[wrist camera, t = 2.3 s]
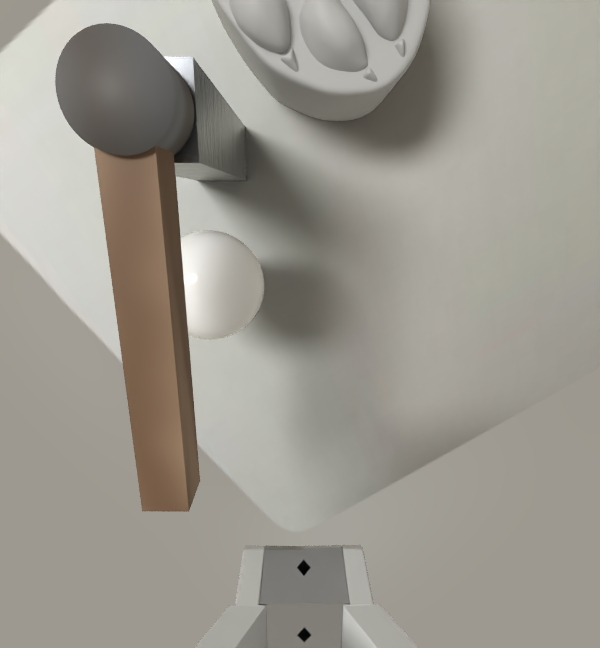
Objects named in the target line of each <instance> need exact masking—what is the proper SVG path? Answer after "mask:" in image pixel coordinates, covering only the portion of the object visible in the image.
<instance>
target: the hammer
mask: <svg viewBox="0 0 600 648" xmlns="http://www.w3.org/2000/svg"><path fill="white" fill-rule="evenodd" d="M55 83H56V93H57V97H58V101H59V105H60V108H61V110H62V112H63V114H64V117H65V118H66V120H67V122H68V123H69V125H70V126H71V127H72V129H73V130H74V131H75V132H76V133H77V134H78V135H79V136H80V137H81V138H82V139H83V140H84V141H85V142H87V143H88V144H90V145H91V146H93V147H94V150H95V158H96V165H97V173H98V180H99V188H100V195H101V203H102V210H103V218H104V225H105V233H106V241H107V248H108V256H109V263H110V271H111V278H112V286H113V293H114V301H115V308H116V316H117V324H118V331H119V339H120V346H121V354H122V361H123V369H124V376H125V384H126V391H127V399H128V406H129V414H130V422H131V429H132V436H133V444H134V452H135V459H136V467H137V474H138V482H139V490H140V497H141V505H142V511H189V510H190V507H191V504H192V501H193V498H194V496H195V493H196V490H197V487H198V485H199V482H200V476H199V463H198V451H197V438H196V426H195V413H194V401H193V388H192V376H191V363H190V351H189V338H188V326H187V313H186V301H185V288H184V276H183V263H182V251H181V238H180V226H179V213H178V201H177V189H176V176H175V164H174V155H175V154H176V153H177V152H179V151H180V150H181V149H182V148H183V146H184V145H185V144H186V142H187V140H188V139H189V137H190V134H191V132H192V128H193V124H194V104H193V100H192V96H191V93H190V90H189V88H188V86H187V84H186V82H185V81H184V79H183V78H182V76H181V75H180V74H179V73H178V71H177V70H176V69H175V68H174V67H173V66H172V65H171V64H170V63H169V62H168V61H167V60H166V59H165V58H164V57H163V56H162V55H161V54H160V52H159V51H158V50H157V49H156V48H155V47H154V46H153V45H152V44H151V43H150V42H149V41H148V40H147V39H146V38H144V37H143V36H142V35H140V34H139V33H137V32H135V31H134V30H132V29H130V28H127V27H124V26H121V25H117V24H108V23H105V24H97V25H92V26H90V27H87V28H85V29H83V30H81V31H80V32H78V33H77V34H76V35H74V36H73V37H72V38H71V39H70V40H69V42H68V43H67V44H66V46H65V47H64V49H63V51H62V53H61V55H60V57H59V60H58V64H57V69H56V81H55Z"/></svg>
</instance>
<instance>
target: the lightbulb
mask: <svg viewBox="0 0 600 648" xmlns="http://www.w3.org/2000/svg"><path fill="white" fill-rule="evenodd" d="M180 238H181V251H182V263H183V276H184V288H185V301H186V313H187V326H188V335H189V336H192V337H195V338H199V339H209V340H211V339H220V338H225V337H228V336H231V335H233V334H235V333H237V332H239V331H240V330H242V329H243V328H244V327H246V326H247V325H248V324H249V323H250V322H251V321H252V320H253V318H254V317H255V316H256V314H257V312H258V311H259V309H260V306H261V304H262V300H263V296H264V276H263V272H262V268H261V266H260V263H259V261H258V259H257V258H256V256H255V255H254V253H253V252H252V251H251V250H250V249H249V248H248V247H247V246H246V245H245V244H244V243H243V242H242V241H240V240H239V239H237V238H235V237H233V236H231V235H229V234H226V233H223V232H219V231H212V230H203V231H196V232H192V233H189V234H187V235H184V236H182V237H180Z"/></svg>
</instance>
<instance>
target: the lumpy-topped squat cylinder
mask: <svg viewBox="0 0 600 648" xmlns="http://www.w3.org/2000/svg"><path fill="white" fill-rule="evenodd" d="M212 2H213V5H214V7H215V9H216V11H217V14H218V16H219V18H220V20H221V23H222V25H223V27H224V29H225V30H226V32H227V34H228V36H229V37H230V39H231V40H232V42H233V44H234V45H235V47H236V49H237V51H238V52H239V54H240V55H241V57H242V58H243V60H244V61H245V63H246V64H247V66H248V67H249V68H250V70H251V71H252V72H253V74H254V75H255V76H256V78H257V79H258V80H259V81H260V83H261V84H262V85H263V86H264V87H265V88H266V90H267V91H268V92H269V93H270V94H271V95H272V96H273V97H274V98H275V99H276V100H278V101H279V102H280V103H282V104H284V105H285V106H287V107H289V108H291V109H293V110H296V111H298V112H300V113H303V114H305V115H308V116H310V117H313V118H317V119H320V120H326V121H347V120H354V119H358V118H361V117H363V116H365V115H367V114H369V113H370V112H372V111H373V110H374V109H375V108H376V107H377V106H378V105H379V104H380V103H381V102H382V101H383V99H384V98H385V97H386V96H387V95H388V93H389V92H390V91H391V90H392V88H393V87H394V86H395V85H396V83H397V82H398V81H399V80H400V78H401V77H402V76H403V75H404V73H405V72H406V71H407V69H408V68H409V66H410V65H411V63H412V62H413V60H414V58H415V56H416V54H417V51H418V49H419V46H420V44H421V41H422V38H423V35H424V31H425V28H426V24H427V20H428V16H429V10H430V2H431V0H212Z"/></svg>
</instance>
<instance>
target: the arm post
mask: <svg viewBox="0 0 600 648" xmlns="http://www.w3.org/2000/svg"><path fill="white" fill-rule="evenodd" d="M164 58H165V59H166V60H167V61H168V62H169V63H170V64H171V65H172V66H173V67H174V68H175V69H176V70H177V71H178V73H179V74H180V75H181V76H182V78H183V79H184V81H185V82H186V84H187V86H188V88H189V90H190V93H191V96H192V100H193V104H194V124H193V128H192V132H191V134H190V137H189V139H188V140H187V142H186V144H185V145H184V146H183V148H182V149H181V150H180V151H179V152H177V153H176V154H175V155H174V164H175V176H177V177H182V178H188V179H193V180H214V181H247V175H246V144H245V126H244V125H243V123H242V122H241V121H240V119H239V118H238V117H237V115H236V114H235V113H234V111H233V110H232V109H231V107H230V106H229V105H228V103H227V102H226V101H225V99H224V98H223V97H222V95H221V94H220V93H219V91H218V90H217V89H216V87H215V86H214V85H213V83H212V82H211V81H210V79H209V78H208V77H207V75H206V74H205V73H204V71H203V70H202V69H201V67H200V66H199V65H198V63H197V62H196V61H195V59H194V58H193V57H164Z"/></svg>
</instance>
